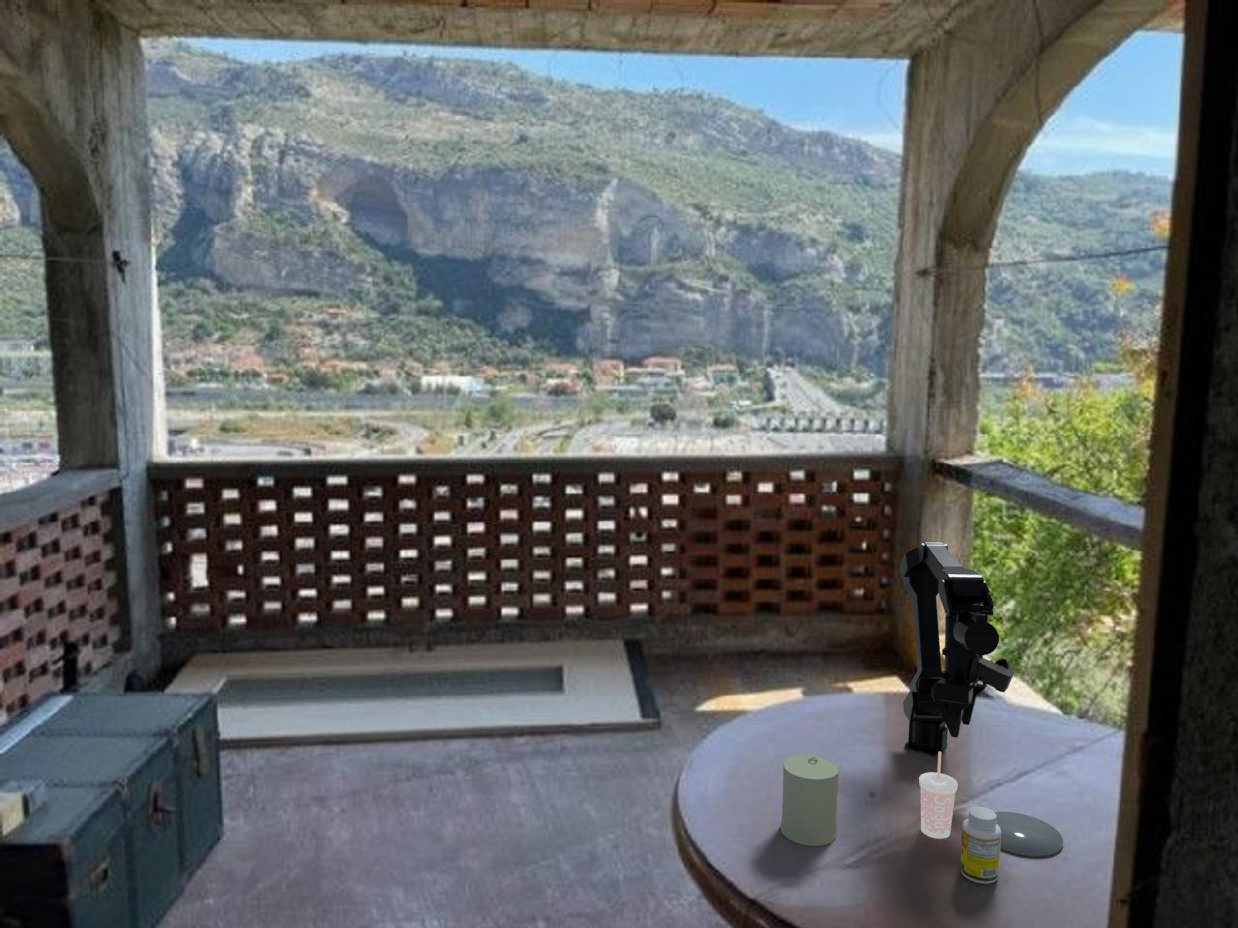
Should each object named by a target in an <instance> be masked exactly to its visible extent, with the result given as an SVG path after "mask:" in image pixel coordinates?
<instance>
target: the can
mask: <svg viewBox="0 0 1238 928" xmlns="http://www.w3.org/2000/svg"><path fill="white" fill-rule="evenodd" d="M782 767H783V768H782V769H783V770H782V772H783V773H782V774H783V775H782V804H781V805H782V807H781V809H782V810H781V811H782V812H781V823H780V831H781V833H782V835H783V836H784V838H786V839H787V840H790V841H791V842H793V843H795V844H798V845H801V846H807V847H809V846H810V847H820V846H826V845H829V844H831V843H833V842H834V841H835V840H836V839H837V837H838V832H837V813H838V810H837V809H838V790H839V773H840V768H839V765H838V764H837V763H836V762H834V761H833V760H832V759H829V758H828V757H825V756H823V755H822V756H821V755H817V754H811V753H802V754H801V753H799V754H794V755H791V756H788V757H786V758H785V759H784V761H783V763H782Z"/></svg>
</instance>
